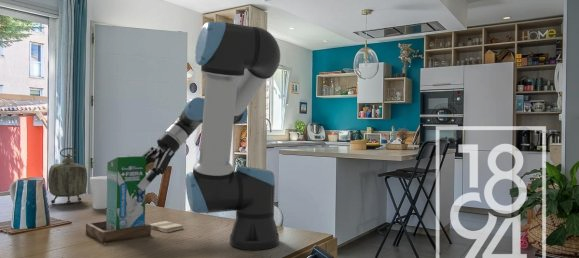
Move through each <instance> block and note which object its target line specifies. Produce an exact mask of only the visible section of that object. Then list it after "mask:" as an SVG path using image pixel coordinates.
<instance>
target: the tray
mask: <svg viewBox="0 0 579 258" xmlns="http://www.w3.org/2000/svg"><path fill="white" fill-rule="evenodd" d="M150 224H151V223H148V222H145V225H142V226H136V227H129V228H123V229H116V230H110V231H106V220H101V221H100V220H99V221H94V222H86V223H85V234H86V236H88V237H90V238H92V239H93V240H95V241H97V242H99V243H100V244H102V245H103V244H104V243H105V244H110V243H115V242H116V243H117V242H121V241H127V240H132V239H137V238H144V237H149V236H151V235H152V234H151V233H152V229H151V225H150Z"/></svg>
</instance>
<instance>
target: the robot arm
mask: <svg viewBox="0 0 579 258" xmlns="http://www.w3.org/2000/svg"><path fill="white" fill-rule="evenodd" d="M194 53H195V63H196V64H198V65H199V66H201V68H200V72H201V73H202V74H203V75H204V77H205V86H204V87H205V88H204V97H196V96H195V97H194V98H191V99H190V100H189V101H188V102H187V103H186V105H185V107H184V109H183V110H182V112H181V114H180V115H179V116H178V117H177V118H176V119H175V121H174V122H173V123H172V124H171V125H170V126H169V127H168V128H167V129H166V130H165V131H164V133H162V135H161V136H160V137H159V138H157V141H156V142H157V143H156V144H157V146H156V147H153V146H152V147H150V148H149V149H148V150H147V151H145V152H144V153H143V154H141V156H146V166H148V165H149V164H150V163H153V167H151V168H150V170H149V171H148V172H146V176H145V177H144V178H143V179H142V181H141V182H140V183H139V184H138V185H137V186H138V187H139V188H140V189H141V190H142V191H144V190H145V191H146V189H147V187H149V185H151V183H152V182H153V181H154V179H156V177H157V176H160V175H163V174H164V173H165V172H166V169H167V168H168V167H169V164H170V162H171V160H172V158H173V157H174V156H175V154H176V153H177V151H178V150H179V149H180V147H181V146H182V145H184V144H185V143H186V140H188V138H190V136H191V135H192V134H193V133H194V132H195V131H196V129H198V128H199V126H200V125H201V124H202V125H201V134H200V135H201V136H200V137H201V138H200V146H199V147H200V149H199V158H198V159H199V160H197V162H196V163H194V164H193V167H192V168H193V169H192V172H191V171H190V172H188V173H187V174H185V175H186V176H185V190H186V196H187V197H186V198H187V201H188V205H189V208H190V209H191V211H192V212H193V213H195V214H209V213H211V214H213V213H221V212H224V213H225V212H235V211H236V212H235V220H234V223H233V225H232V226H233V227H232V230H231V233H230V235H229V244H230V247H231V246H232V247H233V248H236V249H240V250H246V251H247V250H248V251H249V250H250V251H252V250H253V251H259V250H267V249H272V248H275V247H277V246H278V245H279V244H280V235H279V231H278V228H277V225H276V221H275V189H276V188H275V187H276V185H275V184H276V183H275V174H274V172H273V171H271V170H269V169H263V168H257V167H251V166H250V167H249V166H240V165H239V166H237V168H236V170H235V168H234V166H233V165H232V164H231V163H230V161H231V149H232V142H233V141H232V139H233V131H234V130H233V129H234V125H241V124H245V123H246V122H247V118H248V116H249V114H248V113H249V112H248V107H249V105H250V103H251V102H252V100H253V99H254V98H255V96H256V95H257V93H258V91H259V90H260V89H261V87H262V86H263V84H264V83H265V82H266V80H269V79H271V78H272V77H273V76H274V75H275V74H276V72H277V70H278V68H279V66H280V63H281V50H280V45H279V44H278V41H277V40H276V38H275V37H274V36H273V35H272V34H271V32H269V31H268V30H266V29H264V28H262V27H258V26H251V25H242V24H237V23H230V22H224V21H208V22H205V23H204V25H203V26H202V27H201V29H200V32H199V34H198V38H197V41H196V45H195V52H194Z"/></svg>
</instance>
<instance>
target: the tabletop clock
mask: <svg viewBox="0 0 579 258" xmlns="http://www.w3.org/2000/svg"><path fill="white" fill-rule="evenodd" d="M65 150H71V151H72V150H73V151H74V152H75V154H72V155H70V153H67V154H66V155H63V154H62V152H63V151H65ZM77 154H78V150H76V149H75V148H73V147H65V148H63V149H61V150H59V155H60V156H61V157H63V159H62V161H61V163H55V164H52V165H50V168H49V171H48V176H47V185H48V187H47V188H48V191H49V192H50V194H51V195H52V196H53V197H54V198H53V199H51V200H50V203H51V204H55V203H56V199H58V198H59V197H60V198H65V197H66V198H67V201H66V204H67V205H70V204H71V203H72V202H71V198H70V197H77V201H78V202H81V201H82V198H81V197H80V196H81V195H83V194H85V193H86V190H87V186H88V171H87V168H86V166H85V165H83V164H80V163H77V162H76V161H75V159H74V158H73V157H76V156H77Z"/></svg>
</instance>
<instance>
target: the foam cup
mask: <svg viewBox="0 0 579 258" xmlns="http://www.w3.org/2000/svg"><path fill="white" fill-rule="evenodd" d="M89 184H90V191H91V199H92V209H94V210H106V208H107V175H105V176H104V175H102V176H92V177H91V176H90V177H89Z"/></svg>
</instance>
